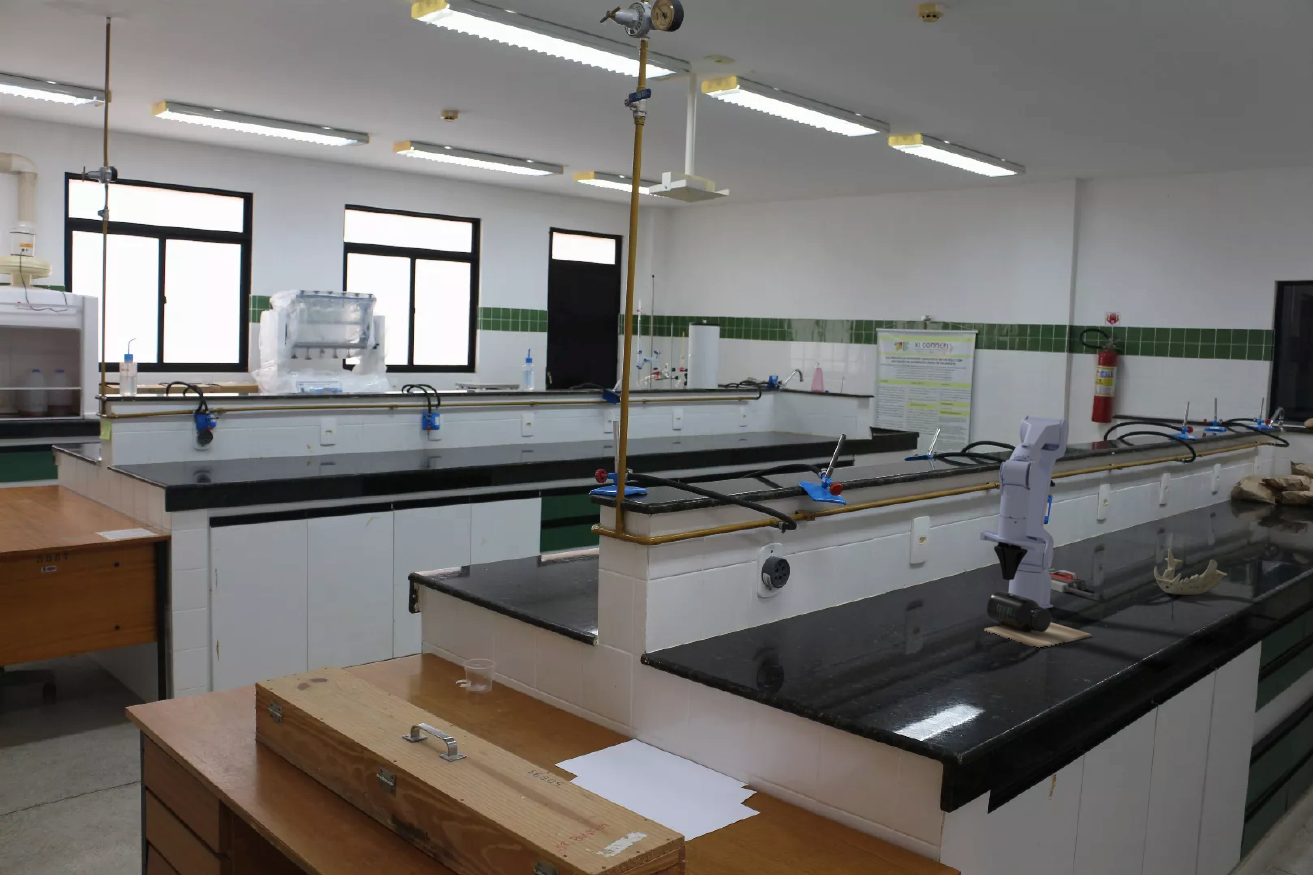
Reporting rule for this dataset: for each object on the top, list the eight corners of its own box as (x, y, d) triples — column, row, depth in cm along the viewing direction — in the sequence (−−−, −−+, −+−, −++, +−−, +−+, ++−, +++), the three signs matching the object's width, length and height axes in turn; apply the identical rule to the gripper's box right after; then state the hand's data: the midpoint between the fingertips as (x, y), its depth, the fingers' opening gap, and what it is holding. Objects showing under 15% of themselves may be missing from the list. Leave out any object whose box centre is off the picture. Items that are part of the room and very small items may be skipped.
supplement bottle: (1009, 590, 214) (1057, 604, 204) (1004, 621, 214) (1052, 636, 204) (988, 589, 210) (1035, 604, 200) (983, 621, 210) (1030, 637, 200)
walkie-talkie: (1021, 582, 254) (1090, 602, 237) (1023, 565, 253) (1091, 584, 236) (1044, 579, 258) (1113, 598, 241) (1045, 563, 258) (1115, 580, 241)
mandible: (1195, 605, 237) (1199, 564, 236) (1130, 591, 248) (1134, 552, 247) (1227, 595, 249) (1231, 556, 248) (1164, 582, 261) (1167, 544, 260)
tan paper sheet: (1035, 620, 217) (1036, 617, 217) (1090, 636, 206) (1091, 633, 206) (984, 630, 206) (984, 628, 206) (1039, 648, 196) (1039, 645, 196)
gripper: (973, 512, 214) (968, 573, 215) (1032, 524, 202) (1026, 589, 204) (993, 510, 218) (988, 570, 219) (1052, 521, 206) (1047, 585, 208)
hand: (1008, 579), depth 212 cm, fingers closed
